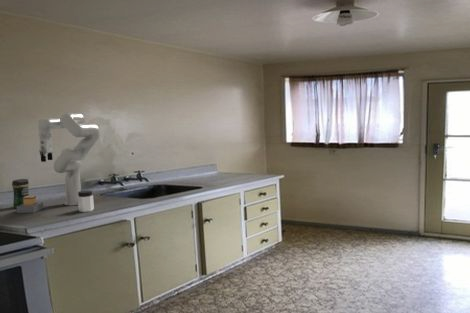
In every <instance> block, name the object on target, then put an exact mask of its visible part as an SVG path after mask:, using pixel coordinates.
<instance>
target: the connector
mask: <svg viewBox="0 0 470 313" xmlns="http://www.w3.org/2000/svg"><path fill="white" fill-rule="evenodd" d="M23 201H24V206H26V205H35V204H36V202H37V196H36V195H29V196H25V197H23Z"/></svg>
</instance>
